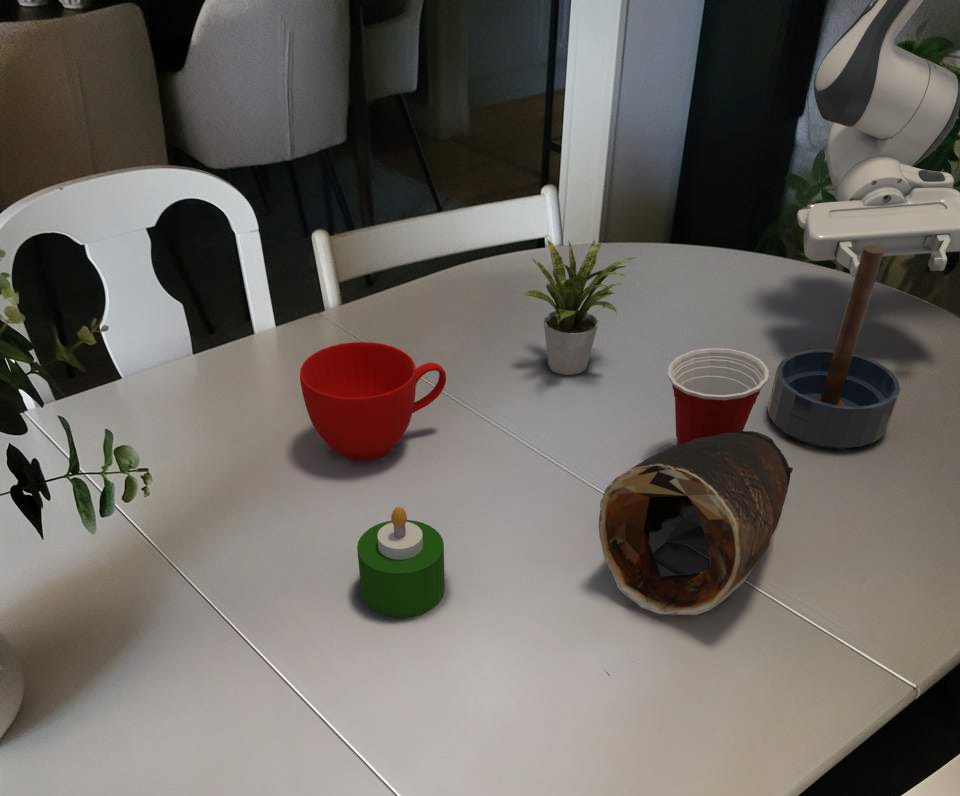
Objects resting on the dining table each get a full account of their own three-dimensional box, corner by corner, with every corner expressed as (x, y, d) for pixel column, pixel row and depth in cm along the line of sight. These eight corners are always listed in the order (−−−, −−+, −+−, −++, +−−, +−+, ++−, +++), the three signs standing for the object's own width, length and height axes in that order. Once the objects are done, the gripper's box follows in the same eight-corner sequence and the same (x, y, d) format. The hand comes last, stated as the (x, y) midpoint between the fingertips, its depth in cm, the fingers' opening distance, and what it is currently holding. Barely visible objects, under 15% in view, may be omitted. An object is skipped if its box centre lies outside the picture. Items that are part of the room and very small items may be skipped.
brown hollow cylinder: (845, 410, 100) (756, 482, 82) (816, 546, 108) (729, 639, 90) (709, 385, 107) (600, 447, 89) (691, 514, 115) (588, 595, 97)
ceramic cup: (466, 456, 114) (466, 378, 107) (326, 486, 109) (317, 408, 102) (427, 402, 123) (425, 328, 116) (296, 429, 118) (286, 353, 111)
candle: (343, 591, 96) (334, 509, 90) (401, 552, 101) (396, 471, 94) (404, 629, 93) (400, 546, 86) (461, 586, 97) (461, 504, 90)
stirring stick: (834, 406, 122) (883, 241, 108) (847, 423, 119) (899, 255, 105) (803, 408, 121) (849, 242, 107) (815, 425, 119) (863, 257, 104)
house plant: (619, 402, 123) (635, 276, 112) (511, 391, 125) (516, 266, 114) (626, 349, 134) (641, 229, 122) (526, 340, 135) (532, 220, 124)
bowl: (857, 390, 126) (870, 347, 122) (904, 449, 116) (920, 405, 112) (751, 395, 125) (761, 352, 121) (790, 456, 115) (802, 411, 111)
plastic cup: (649, 435, 118) (663, 343, 110) (739, 437, 118) (759, 345, 109) (658, 487, 110) (674, 392, 102) (754, 489, 110) (778, 394, 102)
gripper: (798, 184, 125) (817, 252, 117) (964, 172, 123) (994, 240, 115) (790, 228, 130) (807, 296, 122) (949, 217, 128) (976, 285, 121)
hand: (899, 269), depth 119 cm, fingers open, 8 cm apart
